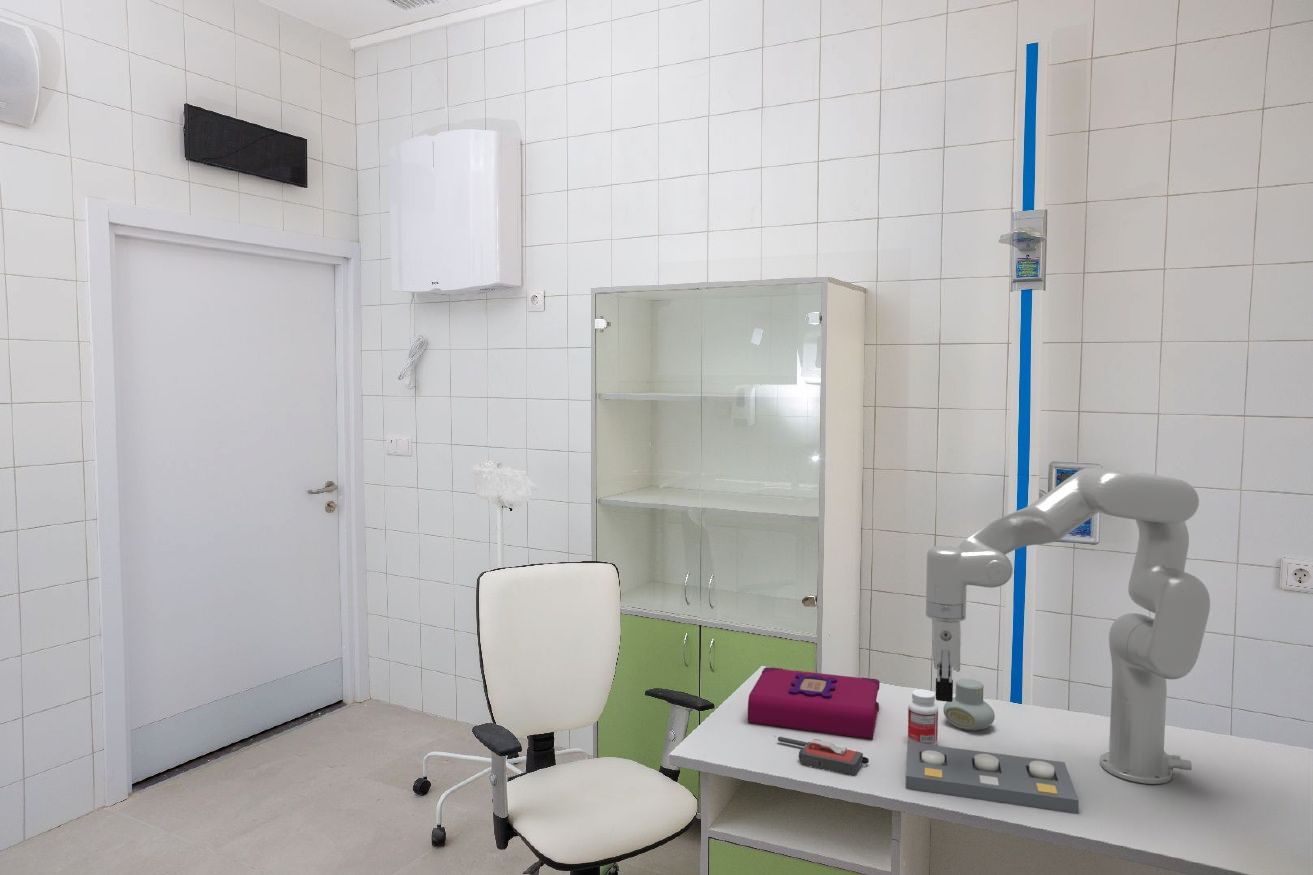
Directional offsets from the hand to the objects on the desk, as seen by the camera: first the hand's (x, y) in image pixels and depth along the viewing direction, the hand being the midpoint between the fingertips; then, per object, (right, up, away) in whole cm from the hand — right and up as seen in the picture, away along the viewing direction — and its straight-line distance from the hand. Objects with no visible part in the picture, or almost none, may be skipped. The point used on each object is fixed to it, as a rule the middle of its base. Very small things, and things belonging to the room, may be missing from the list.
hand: (943, 699), depth 167 cm
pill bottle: (0, -14, +14) cm, 20 cm away
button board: (+7, -15, -3) cm, 17 cm away
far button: (-2, -13, +1) cm, 14 cm away
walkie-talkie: (-24, -15, +7) cm, 29 cm away
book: (-20, -14, +30) cm, 38 cm away
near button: (+17, -13, -5) cm, 22 cm away
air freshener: (+14, -14, +24) cm, 31 cm away
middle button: (+8, -13, -2) cm, 15 cm away
